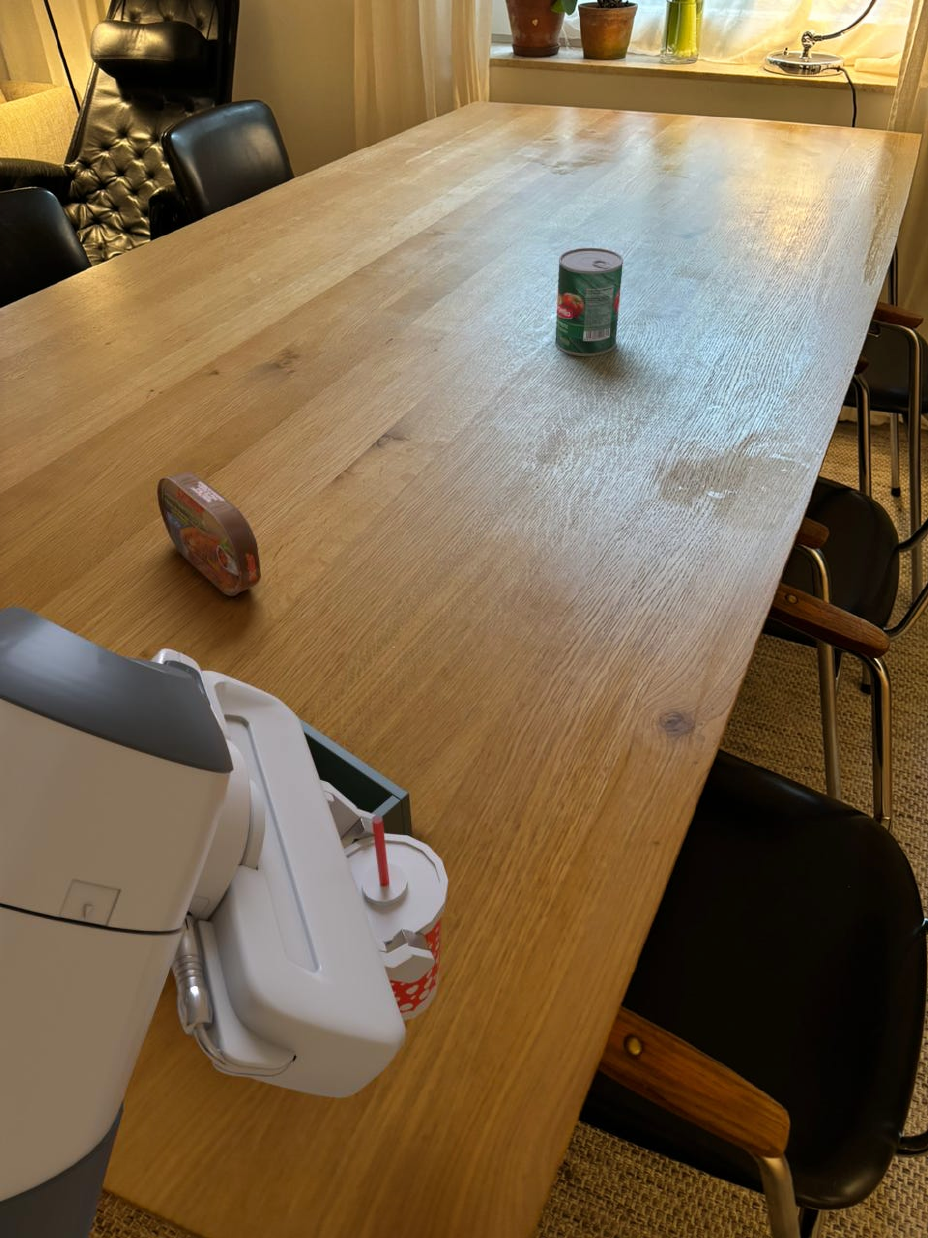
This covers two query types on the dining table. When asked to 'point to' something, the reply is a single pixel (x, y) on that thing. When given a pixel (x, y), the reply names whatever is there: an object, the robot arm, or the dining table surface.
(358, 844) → the beverage cup
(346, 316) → the dining table surface
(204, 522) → the tin
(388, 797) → the bin
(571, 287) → the canned tomato
